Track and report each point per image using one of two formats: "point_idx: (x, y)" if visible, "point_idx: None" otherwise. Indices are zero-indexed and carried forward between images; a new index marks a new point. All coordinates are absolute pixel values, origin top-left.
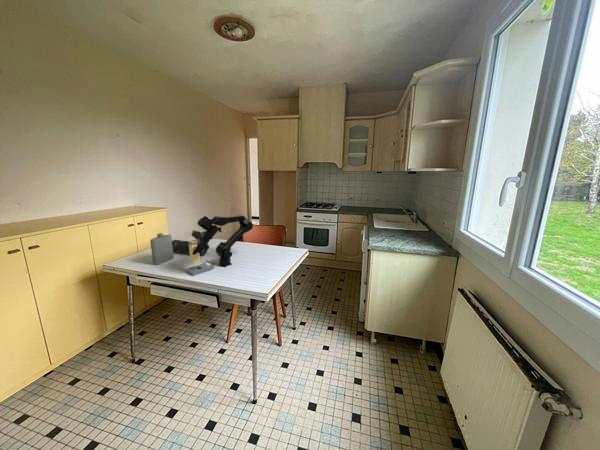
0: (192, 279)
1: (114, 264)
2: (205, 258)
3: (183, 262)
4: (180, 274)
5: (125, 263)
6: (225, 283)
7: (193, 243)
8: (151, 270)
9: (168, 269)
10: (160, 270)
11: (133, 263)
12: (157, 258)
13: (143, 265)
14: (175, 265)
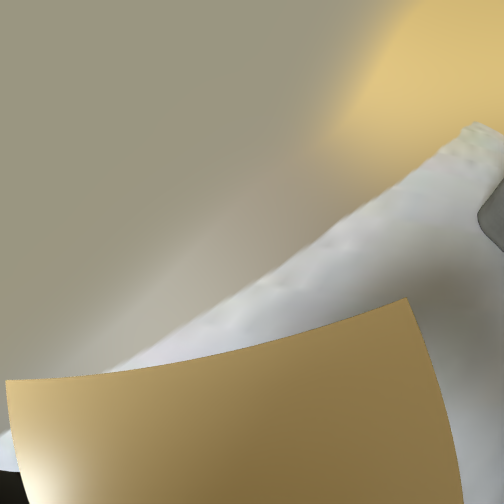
0: (137, 360)
1: (486, 127)
2: (481, 490)
3: (485, 353)
4: (279, 314)
5: (494, 146)
6: (5, 455)
7: (56, 456)
8: (419, 190)
9: (408, 260)
10: (407, 222)
11: (496, 161)
12: (498, 202)
13: (478, 179)
14: (457, 304)
